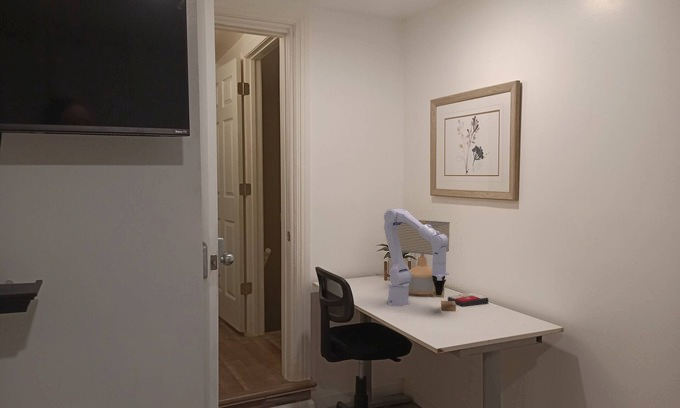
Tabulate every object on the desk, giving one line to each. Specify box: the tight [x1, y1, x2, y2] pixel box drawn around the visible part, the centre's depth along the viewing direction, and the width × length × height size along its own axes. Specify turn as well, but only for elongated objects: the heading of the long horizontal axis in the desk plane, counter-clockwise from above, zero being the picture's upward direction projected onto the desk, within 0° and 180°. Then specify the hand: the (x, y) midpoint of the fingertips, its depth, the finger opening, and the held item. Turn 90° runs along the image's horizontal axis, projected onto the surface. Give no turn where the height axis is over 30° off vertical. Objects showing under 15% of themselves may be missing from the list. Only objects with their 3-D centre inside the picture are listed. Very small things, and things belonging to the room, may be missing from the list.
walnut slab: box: [440, 300, 457, 313], centre depth 227 cm, size 6×6×3 cm
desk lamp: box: [397, 219, 450, 297], centre depth 258 cm, size 22×19×37 cm
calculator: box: [447, 292, 489, 308], centre depth 239 cm, size 11×4×15 cm
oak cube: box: [432, 284, 445, 299], centre depth 222 cm, size 4×4×4 cm
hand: (438, 293), depth 222 cm, fingers closed on oak cube, 4 cm apart
